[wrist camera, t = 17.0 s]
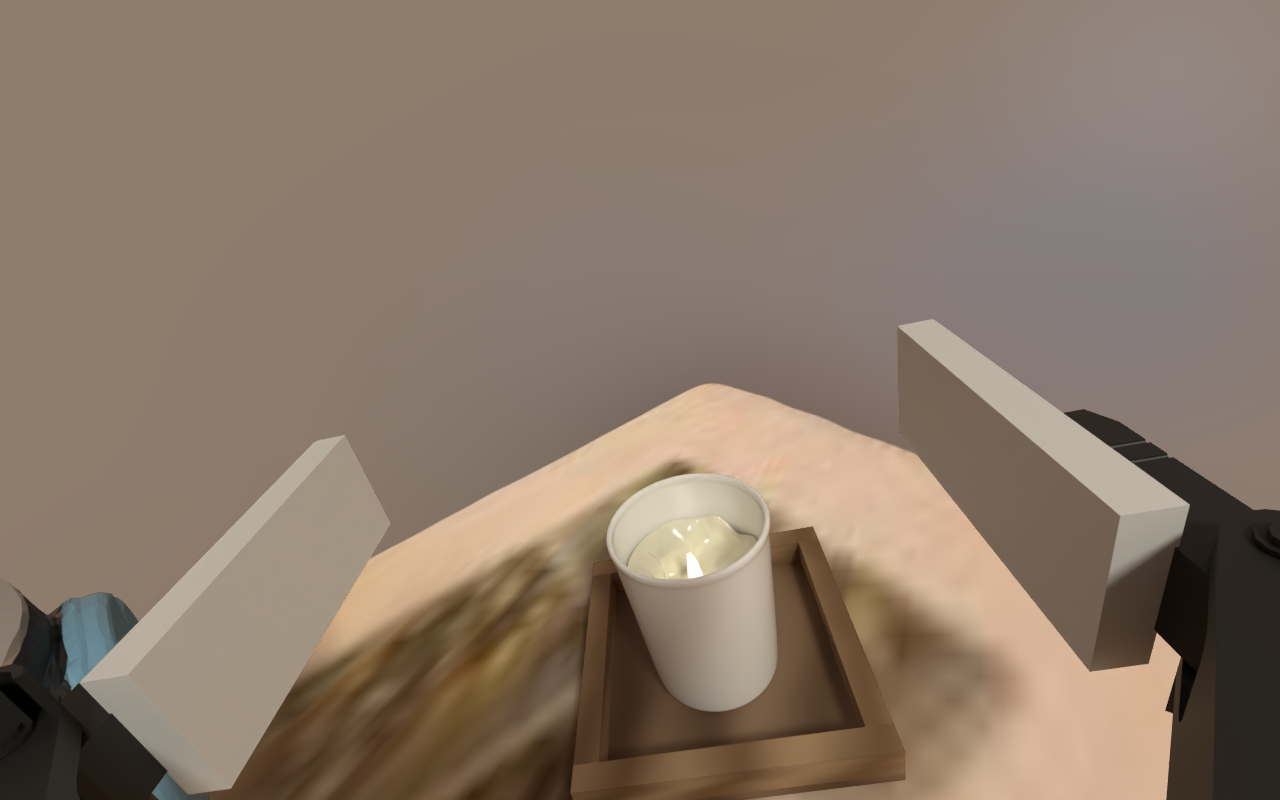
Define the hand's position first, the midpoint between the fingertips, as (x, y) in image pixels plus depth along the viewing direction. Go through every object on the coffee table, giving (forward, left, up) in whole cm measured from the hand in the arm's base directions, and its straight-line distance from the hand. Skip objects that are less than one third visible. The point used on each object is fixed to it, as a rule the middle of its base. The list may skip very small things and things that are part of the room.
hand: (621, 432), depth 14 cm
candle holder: (0, +16, -28) cm, 32 cm away
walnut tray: (0, +16, -28) cm, 32 cm away
